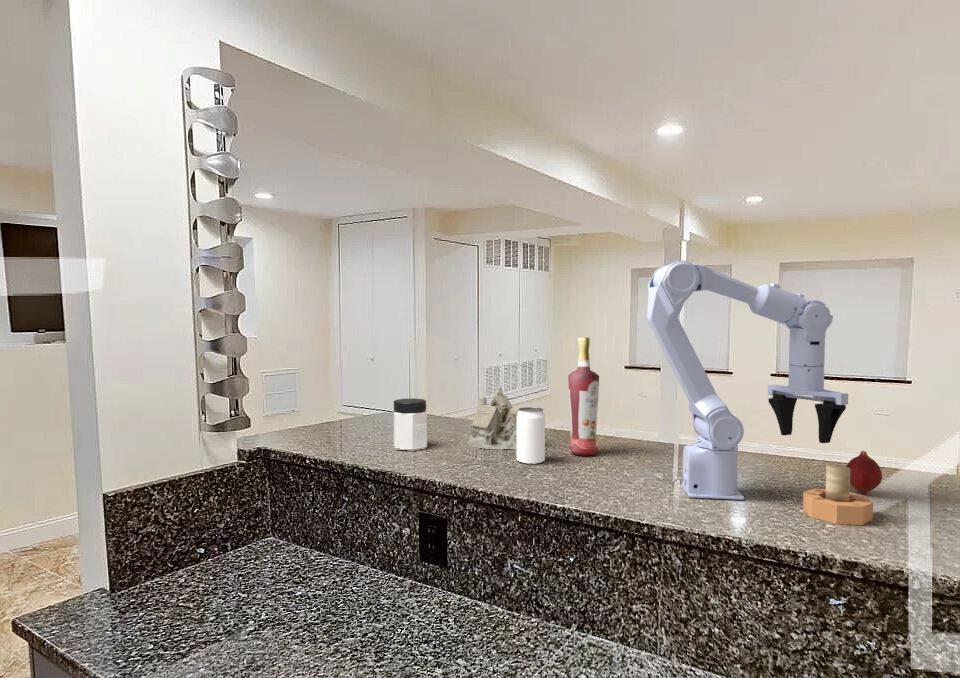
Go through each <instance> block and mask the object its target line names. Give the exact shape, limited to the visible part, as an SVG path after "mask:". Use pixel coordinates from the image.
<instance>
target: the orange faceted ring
mask: <svg viewBox="0 0 960 678" xmlns="http://www.w3.org/2000/svg"><path fill="white" fill-rule="evenodd" d="M802 495H803V496H802V511H804V513H806V515H808V516H809V517H810V518H812V519H815V520H820V521H824V522H828V523H831V524H835V525H847V524H848V526H865V525H866V524H865V523H867V522H869V521H871V520H873V519H874V501H873V500H870V498H867V497H866V496H865V495H864V494H859V493H855V492H854V493H853V492H850V498H849V502H836V501H832V500H828V499H825V497H826V488H812V489H809V490H806V491H803V493H802ZM871 522H872V521H871ZM869 523H870V522H869ZM849 524H850V525H849ZM864 524H865V525H864ZM867 524H868V523H867Z"/></svg>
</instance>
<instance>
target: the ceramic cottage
mask: <svg viewBox="0 0 960 678" xmlns="http://www.w3.org/2000/svg"><path fill="white" fill-rule="evenodd" d="M518 412H519V408H514V407H513V405H512V403H511V402H510V400H509V398H508V395H507V394H505V395H504V393H503V389H502V386H496V390H495V392H494V395H493V399H492V400H491V403H490V405H488V403H487V398H486V396H479V397H478V405H477V407H476V414H475V415H474V416H475V417H474V419H473V420H472V423H471V424H470V426H471V427H472V430H471V432H470V433H471V435H470V436H469V437H468V441H467V444H468V445H470V446H473V447H477V448H486V449H517V414H518Z"/></svg>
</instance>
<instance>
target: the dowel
mask: <svg viewBox="0 0 960 678" xmlns="http://www.w3.org/2000/svg"><path fill="white" fill-rule="evenodd" d="M825 470H826V471H825V489H826V497H825V499H828V500H832V501H836V502H849V498H850V493H851V492H850V491H851V490H850V489H851V485H850V468H848V467H846V465H845V466H844V465H838V464H837V465H836V464H828V465H826V469H825Z"/></svg>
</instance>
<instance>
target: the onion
mask: <svg viewBox="0 0 960 678" xmlns="http://www.w3.org/2000/svg"><path fill="white" fill-rule="evenodd" d="M845 467H848V468H850V487H852V488H853V489H855V490H856V491H857V492H858V493H860V494H861V495H864V494H867V493H868V492H871V491H873V490H874V489H876V488H877V487H879V485H880V484H881V483H882V480H883V472H882V469H881V467H880V466H879V464H878V462H876V460H874V459H873V458H871V457H870V456H869V455H868V452H867V451H865V450H861V451H860V453H859V455H857V456H855V457H853V458H851V460H850V461H848V462H847V465H845Z"/></svg>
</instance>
